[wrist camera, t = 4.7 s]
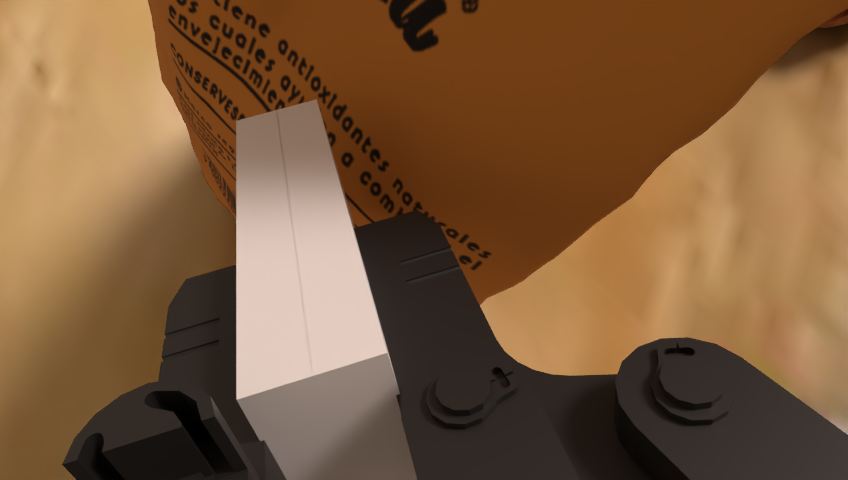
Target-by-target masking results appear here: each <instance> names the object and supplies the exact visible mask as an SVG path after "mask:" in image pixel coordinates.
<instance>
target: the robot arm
mask: <svg viewBox="0 0 848 480" xmlns="http://www.w3.org/2000/svg"><path fill="white" fill-rule="evenodd" d="M165 335H166V339H164V344H163V352H162V358H163V362H161V367H160V374H159V381H158V382H153V383H148V384H146V385H143V386H141V387H139V388H137V389H134V390H132V391H130V392H128V393H125V394H123V395H121V396H119V397H118V398H117V399H115V400H114V401H113V402H111V403H110V404H109V405H107V406H106V407H105V408H103V409H102V410H101V411H99V412H98V413H97V414H95V415H94V416H93V418H92V419H91V420H90V421H89V422H88V423H87V425H86V426H85V427H84V428H83V429H82V430H81V432H80V433H79V434H78V435H77V436H76V437H75V439H74V441H73V443H72V445H71V447H70V449H69V451H68V454H67V456H66V458H65V460H64V462H63V464H62V465H63V466H64V467H65V468H66V469H67V470H68V471H69V472H70V473H71V474H72V475H73V476H74V477H75V479H76V480H848V435H847V434H846V433H844V432H843V431H842V430H840V429H839V428H837V427H836V426H835V425H833V424H832V423H831V422H829V421H828V420H827V419H825V418H824V417H822V416H821V415H820V414H818V413H817V412H816V411H814V410H813V409H811V408H810V407H809V406H807V405H806V404H805V403H803V402H802V401H800V400H799V399H798V398H796V397H795V396H794V395H792V394H791V393H789V392H788V391H787V390H785V389H784V388H783V387H781V386H780V385H778V384H777V383H776V382H774V381H773V380H772V379H770V378H769V377H767V376H766V375H765V374H763V373H762V372H761V371H759V370H758V369H757V368H755V367H754V366H752V365H751V364H750V363H748V362H747V361H746V360H744V359H743V358H741V357H739V356H738V355H736V354H734V353H732V352H730V351H728V350H726V349H724V348H723V347H721V346H719V345H717V344H714V343H709V342H705V341H701V340H696V339H692V338H666V339H659V340H656V341H653V342H651V343H648V344H645V345H642V346H640V347H638V348H637V349H635V350H634V351H633V352H632V353H631V354H630V355H629V356H628V357H627V358H626V359H625V360H623V361H622V363H621V366H620V369H619V372H618V374H614V375H584V376H565V375H551V374H547V373H544V372H540V371H536V370H533V369H531V368H529V367H527V366H524V365H522V364H520V363H518V362H517V361H515V360H514V359H513V358H512V357H511V356H509V355H508V354H507V353H506V352H505V351H504V350H503V348H502V347H501V346H500V344H499V343H498V341H497V340H496V338H495V336H494V334H493V332H492V330H491V328H490V326H489V324H488V322H487V320H486V318H485V316H484V314H483V311H482V309H481V307H480V305H479V303H478V301H477V299H476V297H475V295H474V293H473V291H472V289H471V287H470V285H469V283H468V281H467V279H466V277H465V275H464V273H463V271H462V269H461V268H460V265H459V263H458V261H457V259H456V257H455V255H454V253H453V251H452V250H451V247H450V244H449V242H448V240H447V238H446V236H445V234H444V232H443V230H442V228H441V226H440V224H438V223H437V222H435V221H434V220H432V219H431V218H429V217H428V216H426V215H425V214H423V213H422V212H420V211H419V210H415V211H411V212H408V213H404V214H401V215H397V216H394V217H390V218H387V219H384V220H380V221H377V222H373V223H370V224H366V225H363V226H360V227H356V228H355V226H354V222H353V219H352V215H351V212H350V209H349V205H348V202H347V199H346V196H345V192H344V189H343V186H342V182H341V179H340V176H339V172H338V169H337V166H336V162H335V159H334V156H333V152H332V149H331V146H330V142H329V139H328V136H327V132H326V129H325V126H324V122H323V119H322V116H321V112H320V109H319V106H318V102H317V99H316V100H312V101H309V102H305V103H301V104H297V105H294V106H290V107H286V108H282V109H279V110H275V111H271V112H267V113H264V114H260V115H256V116H253V117H249V118H245V119H241V120H238V121H236V265H234V266H230V267H227V268H223V269H220V270H216V271H213V272H209V273H206V274H203V275H199V276H196V277H192V278H189V279H186V280H185V282H184V283H183V285H182V286H181V288H180V290H179V291H178V293H177V294H176V296H175V297H174V299H173V301H172V302H171V304H170V305H169V308H168V315H167V322H166V330H165Z"/></svg>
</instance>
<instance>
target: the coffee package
mask: <svg viewBox="0 0 848 480" xmlns="http://www.w3.org/2000/svg"><path fill="white" fill-rule="evenodd" d="M148 3H149V7H150V11H151V15H152V21H153V28H154V32H155V41H156V49H157V54H158V60H159V66H160V71H161V77H162V81H163V83H164V84H165V86H166V88H167V89H168V91H169V93H170V94H171V96H172V97H173V99H174V102H175V104H176V106H177V108H178V110H179V112H180V113H181V115H182V118H183V120H184V122H185V123H186V126H187V129H188V132H189V135H190V139H191V143H192V146H193V149H194V151H195V153H196V156H197V158H198V160H199V162H200V165H201V169H202V173H203V175H204V177H205V179H206V181H207V183H208V185H209V186H210V188H211V189H212V191H213V192H214V193H215V195H216V197H217V199H218V200H219V201H220V202H221V203H222V204H223V205H224V206H225V207H226V208H228V209H229V211H230V212H231V213H232V215H233V216H234V217H235V219H236V121H238V120H241V119H245V118H249V117H253V116H256V115H260V114H264V113H267V112H271V111H275V110H279V109H282V108H286V107H290V106H294V105H297V104H301V103H305V102H309V101H312V100H316V99H317V102H318V106H319V109H320V112H321V116H322V119H323V122H324V126H325V129H326V132H327V136H328V139H329V142H330V146H331V149H332V152H333V156H334V159H335V162H336V166H337V169H338V172H339V176H340V179H341V182H342V186H343V189H344V192H345V196H346V199H347V202H348V205H349V209H350V212H351V215H352V219H353V222H354V226H355V228H356V227H360V226H363V225H366V224H370V223H373V222H377V221H380V220H384V219H387V218H390V217H394V216H397V215H401V214H404V213H408V212H411V211H415V210H419V211H420V212H422V213H423V214H425V215H426V216H428V217H429V218H431V219H432V220H434V221H435V222H437V223H438V224H440V226H441V228H442V230H443V232H444V234H445V236H446V238H447V240H448V242H449V244H450V247H451V250H452V251H453V253H454V255H455V257H456V259H457V261H458V263H459V265H460V268H461V269H462V271H463V273H464V275H465V277H466V279H467V281H468V283H469V285H470V287H471V289H472V291H473V293H474V295H475V297H476V299H477V301H478V303H479V305H480V304H482V303H483V301H484V300H485V299H486V298H488V297H490V296H493V295H495V294H497V293H499V292H501V291H504V290H506V289H508V288H511V287H513V286H515V285H516V284H518V283H520V282H522V281H523V280H525V279H526V278H527V277H528V276H529V275H531V274H532V273H533V272H535V271H536V270H537V269H539V268H540V267H542V266H543V265H545V264H546V263H547V262H549V261H551V260H552V259H554V258H555V257H556V256H558V255H559V254H560V253H561V252H562V251H564V250H565V249H566V248H567V247H568V246H570V245H571V244H572V243H573V242H574V241H576V240H577V239H578V238H579V237H580V236H582V235H583V234H584V233H585V232H586V231H587V230H589V229H590V228H591V227H592V226H593V225H594V224H596V223H597V222H598V221H600V220H601V219H603V218H604V217H605V216H607V215H608V214H610V213H611V212H612V211H614V210H615V209H617V208H618V207H619V206H621V205H622V204H623V203H625V202H626V201H628V200H629V199H630V198H632V197H633V196H634V194H635V193H636V192H637V191H638V189H639V188H640V187H641V185H642V184H643V183H644V182H645V180H646V179H647V178H648V177H649V176H650V175H651V174H652V172H653V171H654V170H655V169H656V168H657V167H658V166H659V165H660V164H661V163H662V162H663V161H664V160H665V159H667V158H668V157H669V156H670V155H671V154H672V153H673V152H675V151H676V150H678V149H679V148H681V147H683V146H684V145H686V144H687V143H689V142H691V141H692V140H694V139H695V138H697V137H699V136H700V135H702V134H703V133H704V132H705V131H706V130H708V129H709V128H710V127H711V126H712V125H713V124H714V123H716V122H717V121H718V120H719V119H720V118H721V117H722V116H724V115H725V114H726V113H727V112H728V111H729V110H730V109H732V108H733V107H734V106H735V105H736V104H737V103H738V101H739V100H740V99H741V98H742V97H743V95H744V94H745V93H746V92H747V91H748V90H749V88H750V87H751V86H752V85H753V84H754V83H755V81H756V80H757V79H758V78H759V77H760V76H761V75H762V74H763V73H764V72H765V71H767V70H768V69H769V68H770V67H771V66H772V65H773V64H774V63H775V62H776V61H777V60H778V59H779V58H780V57H781V56H782V55H783V54H784V53H785V52H786V51H788V50H789V49H790V48H791V47H792V46H793V45H794V44H795V43H796V42H797V41H798V40H799V39H800V38H801V37H803V36H805V35H806V34H808V33H809V32H811V31H812V30H814V29H815V28H817V27H818V26H820V25H821V24H823V23H824V22H826V21H827V20H829V19H831V18H833V17H834V16H836V15H838V14H840V13H841V12H843V11H845V10H847V9H848V0H148Z"/></svg>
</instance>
